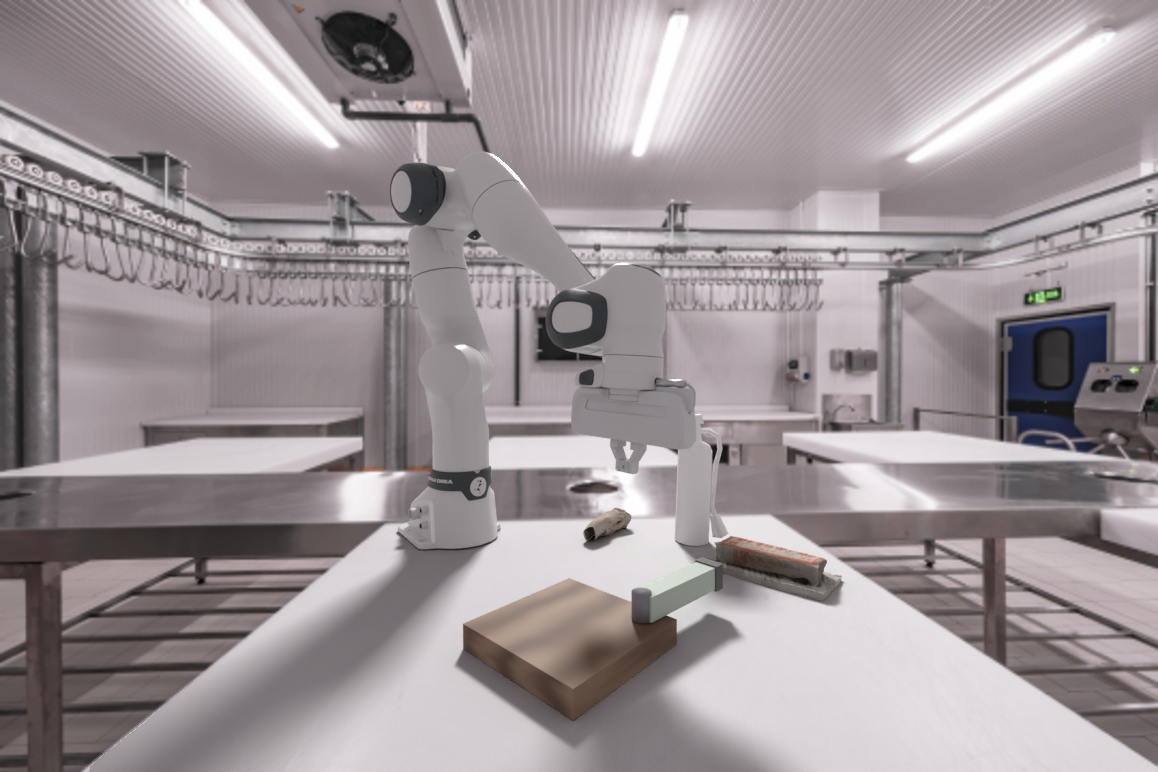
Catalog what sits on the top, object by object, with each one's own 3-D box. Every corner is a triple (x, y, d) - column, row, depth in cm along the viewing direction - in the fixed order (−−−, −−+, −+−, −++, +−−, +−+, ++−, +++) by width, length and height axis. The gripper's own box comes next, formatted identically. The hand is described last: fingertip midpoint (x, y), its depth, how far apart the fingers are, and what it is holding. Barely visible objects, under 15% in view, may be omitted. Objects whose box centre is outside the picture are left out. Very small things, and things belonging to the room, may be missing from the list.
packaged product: (707, 543, 82) (733, 529, 89) (707, 572, 82) (733, 556, 89) (824, 571, 70) (843, 553, 77) (823, 605, 70) (842, 584, 77)
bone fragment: (608, 524, 108) (608, 503, 108) (633, 529, 104) (634, 508, 104) (571, 541, 97) (572, 518, 97) (598, 548, 93) (598, 523, 93)
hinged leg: (646, 628, 57) (645, 599, 57) (624, 618, 59) (624, 590, 59) (722, 588, 67) (722, 563, 67) (701, 580, 70) (701, 557, 70)
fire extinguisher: (732, 548, 92) (732, 415, 92) (666, 545, 93) (666, 415, 93) (726, 537, 99) (726, 412, 98) (665, 534, 100) (665, 412, 100)
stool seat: (463, 648, 58) (463, 623, 58) (569, 598, 71) (569, 578, 71) (573, 721, 46) (573, 689, 46) (676, 644, 59) (676, 619, 59)
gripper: (707, 380, 66) (702, 482, 66) (593, 375, 80) (589, 459, 80) (683, 379, 62) (677, 488, 62) (566, 373, 75) (562, 463, 76)
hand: (626, 472), depth 71 cm, fingers closed
